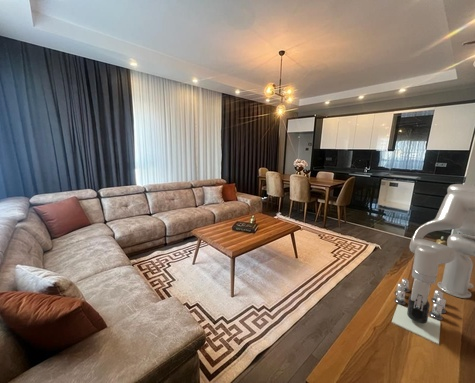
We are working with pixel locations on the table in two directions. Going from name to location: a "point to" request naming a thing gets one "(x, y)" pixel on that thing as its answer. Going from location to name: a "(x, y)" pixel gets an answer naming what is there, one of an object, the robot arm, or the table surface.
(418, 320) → the supplement bottle
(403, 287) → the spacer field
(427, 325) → the sage pad
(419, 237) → the robot arm
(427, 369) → the table surface
